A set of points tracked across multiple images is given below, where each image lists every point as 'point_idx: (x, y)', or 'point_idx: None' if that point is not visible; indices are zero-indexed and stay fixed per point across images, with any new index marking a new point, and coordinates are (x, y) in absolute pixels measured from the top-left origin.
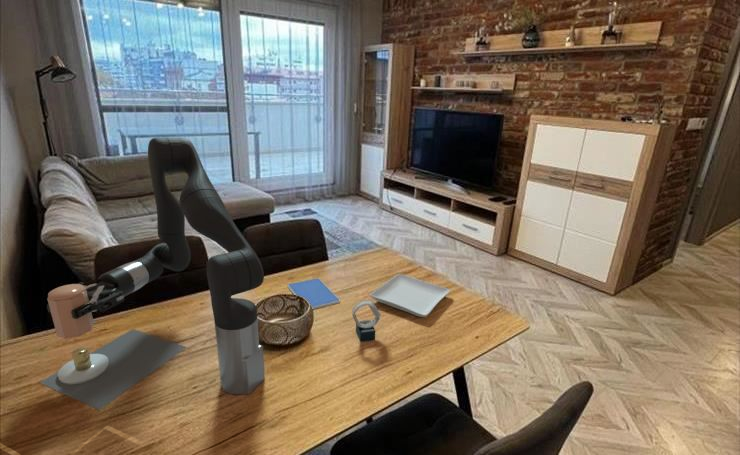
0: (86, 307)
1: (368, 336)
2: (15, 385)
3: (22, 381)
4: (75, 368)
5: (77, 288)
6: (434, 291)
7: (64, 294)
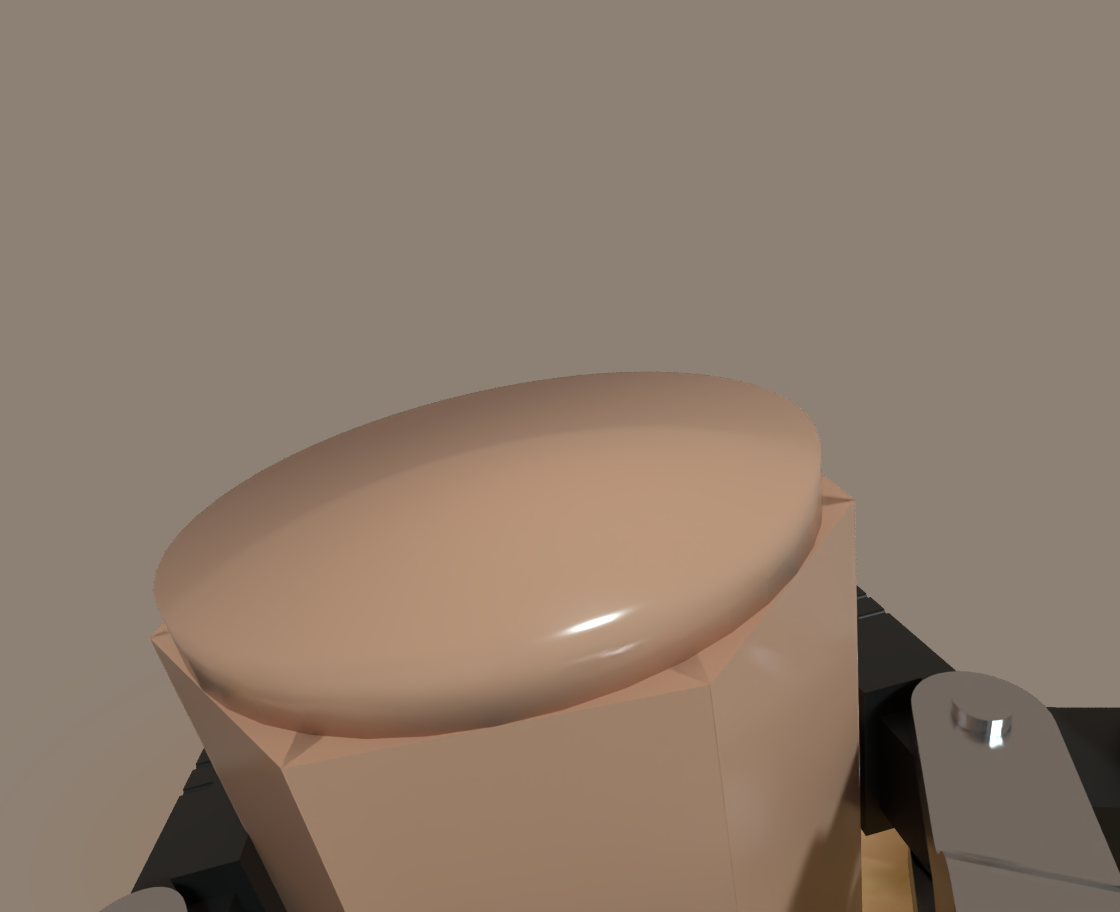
0: (177, 823)
1: None
2: (876, 856)
3: (899, 893)
4: None
5: (370, 554)
6: None
7: (401, 444)
